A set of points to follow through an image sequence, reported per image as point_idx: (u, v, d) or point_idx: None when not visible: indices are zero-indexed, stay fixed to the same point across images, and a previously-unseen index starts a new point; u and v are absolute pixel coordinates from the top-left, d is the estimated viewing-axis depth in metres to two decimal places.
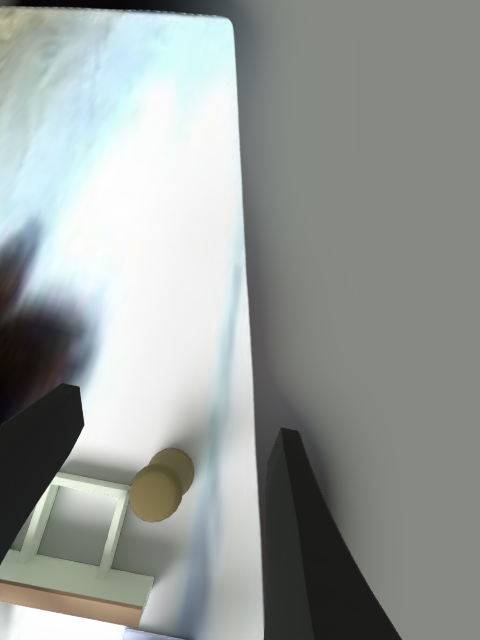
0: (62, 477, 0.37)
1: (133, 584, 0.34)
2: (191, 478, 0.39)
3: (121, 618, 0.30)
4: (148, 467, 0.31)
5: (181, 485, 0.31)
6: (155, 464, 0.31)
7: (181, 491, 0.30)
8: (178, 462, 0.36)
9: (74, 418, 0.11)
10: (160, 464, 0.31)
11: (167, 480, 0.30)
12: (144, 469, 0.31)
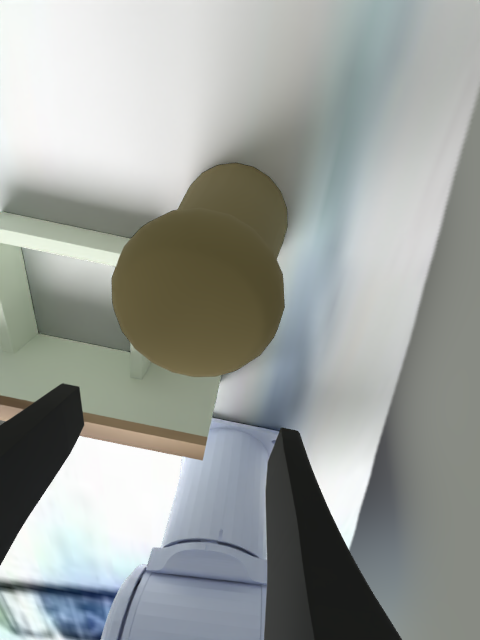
0: (2, 226, 0.17)
1: (190, 388, 0.21)
2: (284, 235, 0.16)
3: (174, 449, 0.18)
4: (155, 228, 0.08)
5: (281, 289, 0.09)
6: (180, 217, 0.08)
7: (281, 306, 0.09)
8: (257, 202, 0.13)
9: (74, 418, 0.11)
10: (199, 217, 0.08)
11: (233, 280, 0.08)
12: (141, 235, 0.08)
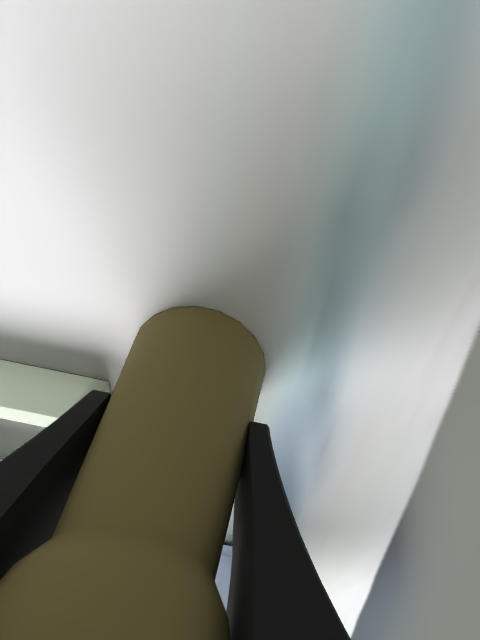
0: None
1: None
2: None
3: None
4: None
5: None
6: None
7: None
8: (212, 414, 0.09)
9: None
10: None
11: None
12: None
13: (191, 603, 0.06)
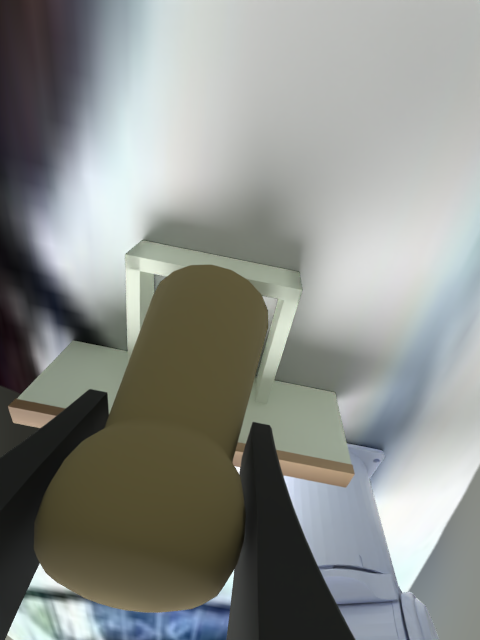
0: (158, 258, 0.17)
1: (314, 412, 0.21)
2: None
3: (320, 477, 0.18)
4: (80, 497, 0.06)
5: (238, 539, 0.07)
6: (113, 479, 0.06)
7: (238, 551, 0.08)
8: (228, 348, 0.11)
9: (102, 424, 0.11)
10: (135, 485, 0.06)
11: (174, 573, 0.06)
12: (65, 500, 0.06)
13: (220, 465, 0.08)
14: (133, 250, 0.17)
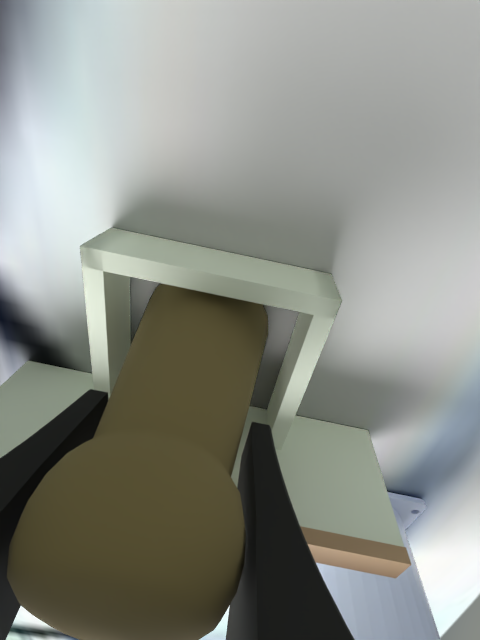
0: (130, 252, 0.11)
1: (344, 461, 0.16)
2: None
3: (360, 565, 0.13)
4: (59, 516, 0.06)
5: (237, 564, 0.07)
6: (97, 495, 0.06)
7: (238, 578, 0.07)
8: (226, 354, 0.10)
9: None
10: (122, 503, 0.06)
11: (164, 606, 0.05)
12: (42, 520, 0.06)
13: (217, 479, 0.07)
14: (94, 240, 0.12)
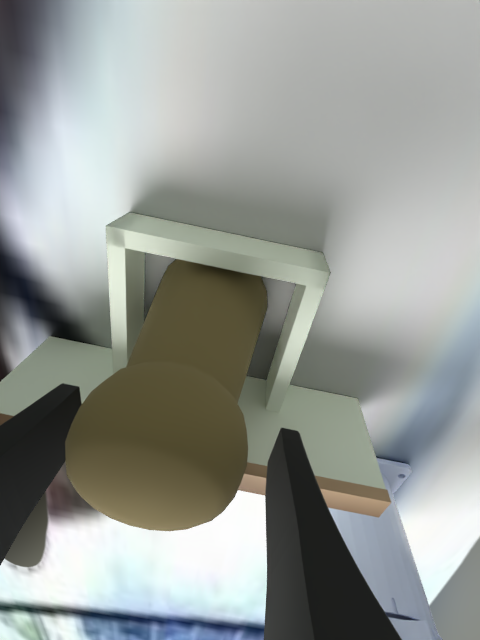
0: (148, 232, 0.13)
1: (335, 422, 0.18)
2: None
3: (347, 505, 0.15)
4: (109, 408, 0.08)
5: (242, 458, 0.08)
6: (137, 394, 0.08)
7: (242, 471, 0.09)
8: (231, 314, 0.12)
9: None
10: (156, 399, 0.08)
11: (187, 472, 0.07)
12: (95, 412, 0.08)
13: (226, 396, 0.09)
14: (117, 222, 0.14)
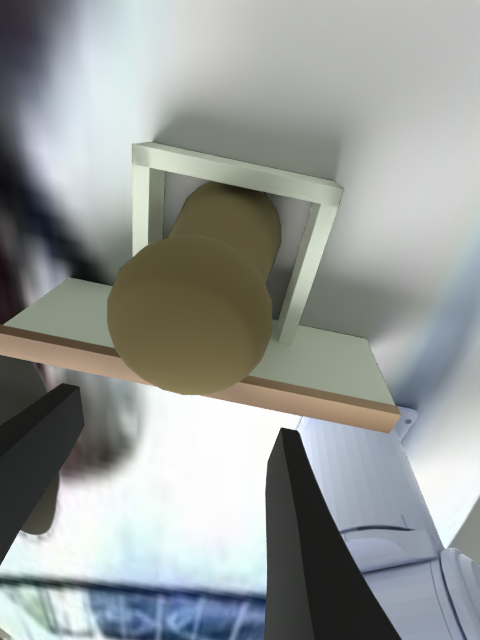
0: (172, 151, 0.14)
1: (345, 355, 0.19)
2: None
3: (359, 420, 0.15)
4: (151, 256, 0.08)
5: (269, 317, 0.09)
6: (176, 246, 0.08)
7: (269, 332, 0.09)
8: (251, 223, 0.13)
9: (74, 418, 0.11)
10: (194, 248, 0.08)
11: (224, 309, 0.08)
12: (138, 261, 0.08)
13: (253, 266, 0.10)
14: (141, 144, 0.14)
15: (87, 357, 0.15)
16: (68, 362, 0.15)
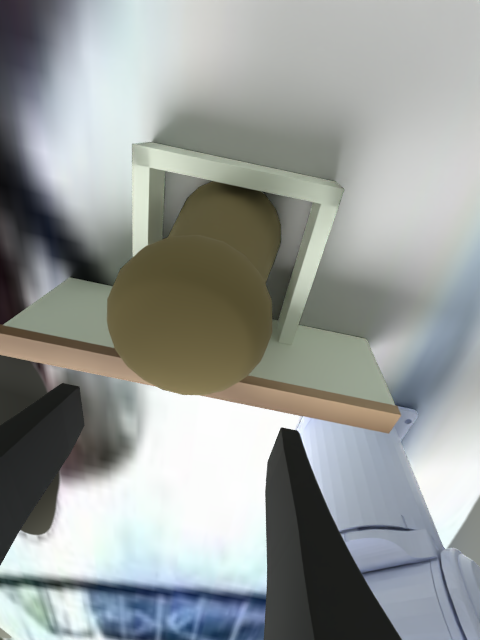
0: (172, 151, 0.14)
1: (345, 355, 0.19)
2: None
3: (359, 420, 0.15)
4: (151, 256, 0.08)
5: (269, 317, 0.09)
6: (176, 246, 0.08)
7: (269, 332, 0.09)
8: (251, 223, 0.13)
9: (74, 418, 0.11)
10: (193, 248, 0.08)
11: (223, 309, 0.08)
12: (138, 261, 0.08)
13: (253, 266, 0.10)
14: (141, 144, 0.14)
15: (87, 357, 0.15)
16: (68, 362, 0.15)
